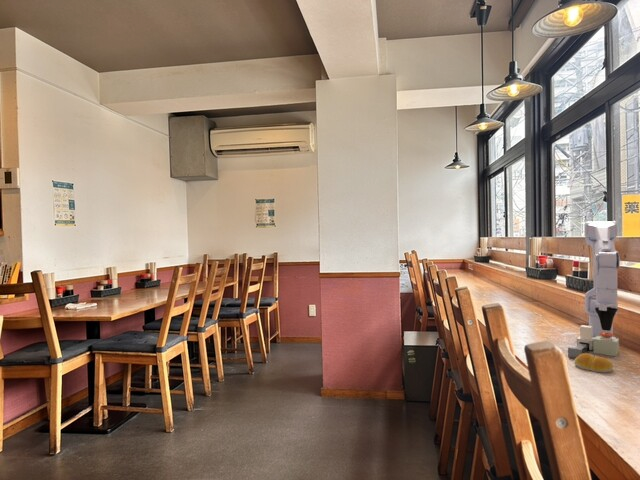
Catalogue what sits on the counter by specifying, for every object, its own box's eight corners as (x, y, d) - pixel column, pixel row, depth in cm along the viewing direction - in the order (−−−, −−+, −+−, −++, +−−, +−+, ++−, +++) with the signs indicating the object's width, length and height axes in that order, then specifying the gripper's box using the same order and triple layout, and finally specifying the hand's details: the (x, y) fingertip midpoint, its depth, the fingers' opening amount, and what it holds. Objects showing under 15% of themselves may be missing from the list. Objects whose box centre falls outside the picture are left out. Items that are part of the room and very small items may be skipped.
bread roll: (608, 375, 110) (608, 361, 110) (571, 367, 117) (571, 353, 117) (617, 369, 115) (617, 355, 115) (581, 362, 122) (581, 349, 122)
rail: (583, 343, 144) (583, 334, 144) (595, 345, 141) (596, 336, 141) (567, 357, 126) (568, 347, 126) (581, 359, 124) (581, 349, 124)
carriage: (580, 344, 142) (580, 324, 142) (595, 346, 139) (595, 326, 139) (576, 347, 137) (576, 326, 137) (592, 350, 134) (592, 328, 134)
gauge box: (596, 349, 136) (596, 335, 136) (618, 352, 132) (618, 338, 132) (593, 352, 132) (593, 338, 132) (616, 356, 128) (616, 342, 128)
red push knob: (600, 347, 134) (600, 331, 134) (613, 349, 132) (613, 333, 132) (599, 349, 132) (599, 333, 132) (611, 351, 130) (611, 334, 130)
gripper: (596, 285, 140) (595, 324, 140) (587, 289, 129) (587, 331, 130) (621, 287, 135) (621, 327, 135) (614, 291, 125) (614, 335, 125)
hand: (606, 330), depth 132 cm, fingers closed
